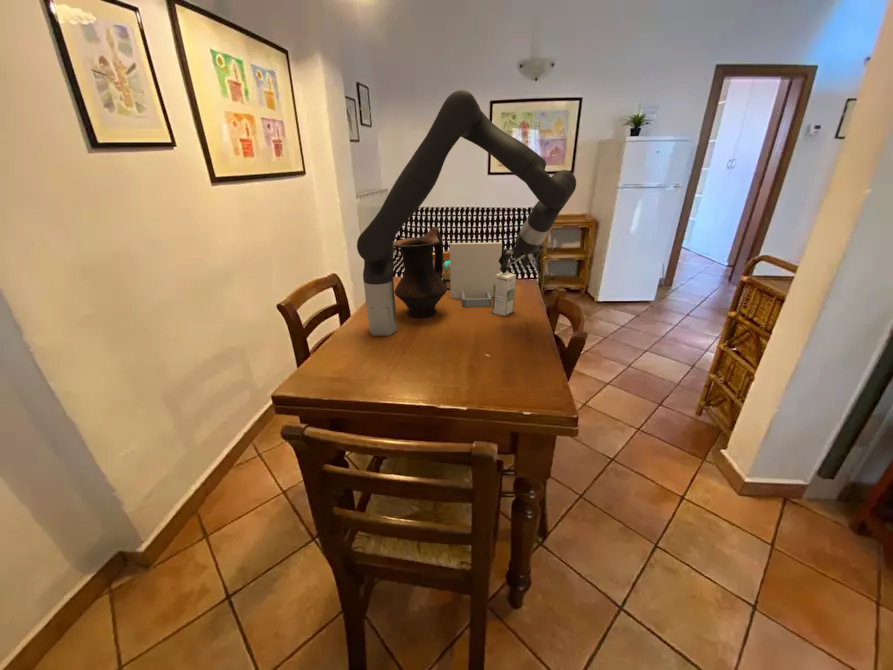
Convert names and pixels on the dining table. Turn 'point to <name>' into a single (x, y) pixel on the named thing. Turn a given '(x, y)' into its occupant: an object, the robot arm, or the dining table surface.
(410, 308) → the jug
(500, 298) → the syrup box
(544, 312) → the dining table surface
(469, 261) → the wall holder
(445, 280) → the ammunition clip
